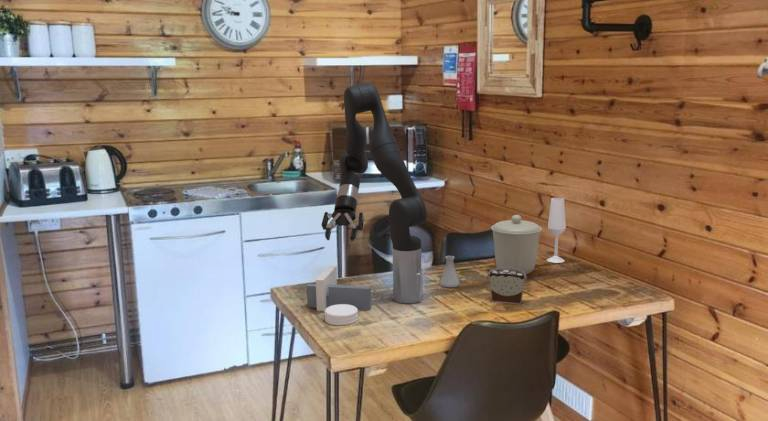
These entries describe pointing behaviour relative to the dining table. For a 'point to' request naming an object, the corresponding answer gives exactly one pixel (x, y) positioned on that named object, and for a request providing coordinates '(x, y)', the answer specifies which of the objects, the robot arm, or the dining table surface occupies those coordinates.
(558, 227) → the champagne flute
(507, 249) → the canister
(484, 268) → the dining table surface
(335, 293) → the grey slotted plate
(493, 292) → the food container
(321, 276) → the white slotted plate
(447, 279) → the flask
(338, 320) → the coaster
